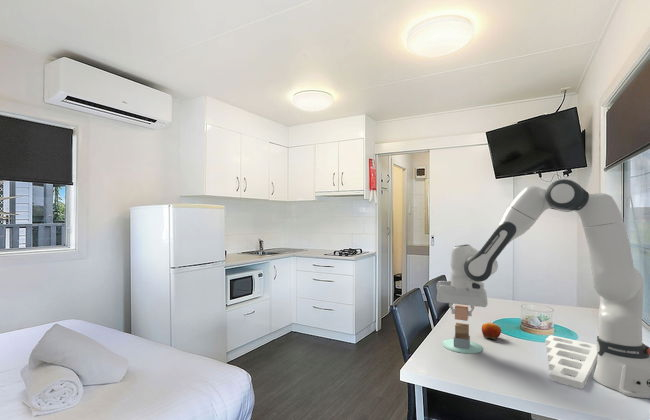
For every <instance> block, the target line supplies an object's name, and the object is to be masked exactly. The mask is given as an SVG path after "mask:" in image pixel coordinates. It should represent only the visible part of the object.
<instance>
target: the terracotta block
mask: <svg viewBox="0 0 650 420" xmlns="http://www.w3.org/2000/svg"><path fill="white" fill-rule="evenodd" d="M454 309H455V314H454V320H458V321H463V322H464V321H465V322H468V320H469V316H468V311H469V305H461V304H455V306H454Z"/></svg>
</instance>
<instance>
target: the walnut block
mask: <svg viewBox="0 0 650 420" xmlns="http://www.w3.org/2000/svg"><path fill="white" fill-rule="evenodd" d="M454 325H455V326H454V330H455V331H454V336H455V338H461V339H467V340H468V337H469V336H470V331H469V330H470V328H469V327H470V326H469V325H470V324H469V323H463V322H462V323H461V322H456V323H455V324H454Z"/></svg>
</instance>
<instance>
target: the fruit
mask: <svg viewBox="0 0 650 420" xmlns="http://www.w3.org/2000/svg"><path fill="white" fill-rule="evenodd" d="M481 333H482V335H483V338H485V340H486V339H492V340H494V341H496V340H497V339H499V337H500V336H501V333H502V329H501V327H500V326H499V325H498V324H497V323H493V322H485V323H483V324H482V326H481Z"/></svg>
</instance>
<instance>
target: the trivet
mask: <svg viewBox="0 0 650 420" xmlns="http://www.w3.org/2000/svg"><path fill="white" fill-rule="evenodd" d="M544 344H545V346H546V347H545V349H546V353H547V362H548V370H549V371H550V373H549V379H550V381H551V382H552V381H553V382H555V383H559V384H562V385H566V386H569V387H573V388H576V389H579V388H580V389H581V390H584V389H585V386H586V384H587V382H588V380H589V378H590V376H591V373H592V371H593V369H594V367H595V365H596V364H597V359H598V353H597V344H596V343H595V344H594V343H589V342H586V341H580V340H576V339H571V338H566V337H562V336H557V335H552V334H551V335H550V334H549V335H548V337H546V338H545V342H544ZM572 358H573V359H572ZM580 360H581V361H580ZM570 375H571V376H570ZM589 375H590V376H589ZM574 376H575V377H574ZM588 377H589V378H588ZM580 389H579V390H580Z"/></svg>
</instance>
